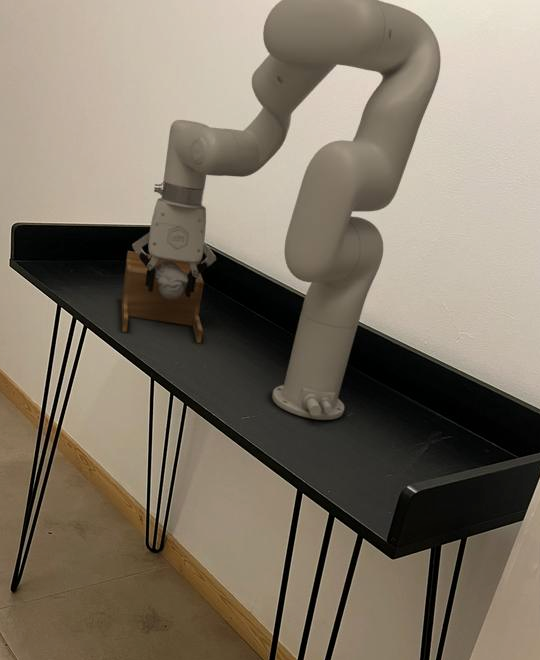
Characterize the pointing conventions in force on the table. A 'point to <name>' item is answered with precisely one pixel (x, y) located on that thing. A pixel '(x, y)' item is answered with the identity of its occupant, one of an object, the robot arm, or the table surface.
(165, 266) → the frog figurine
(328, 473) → the table surface
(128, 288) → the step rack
